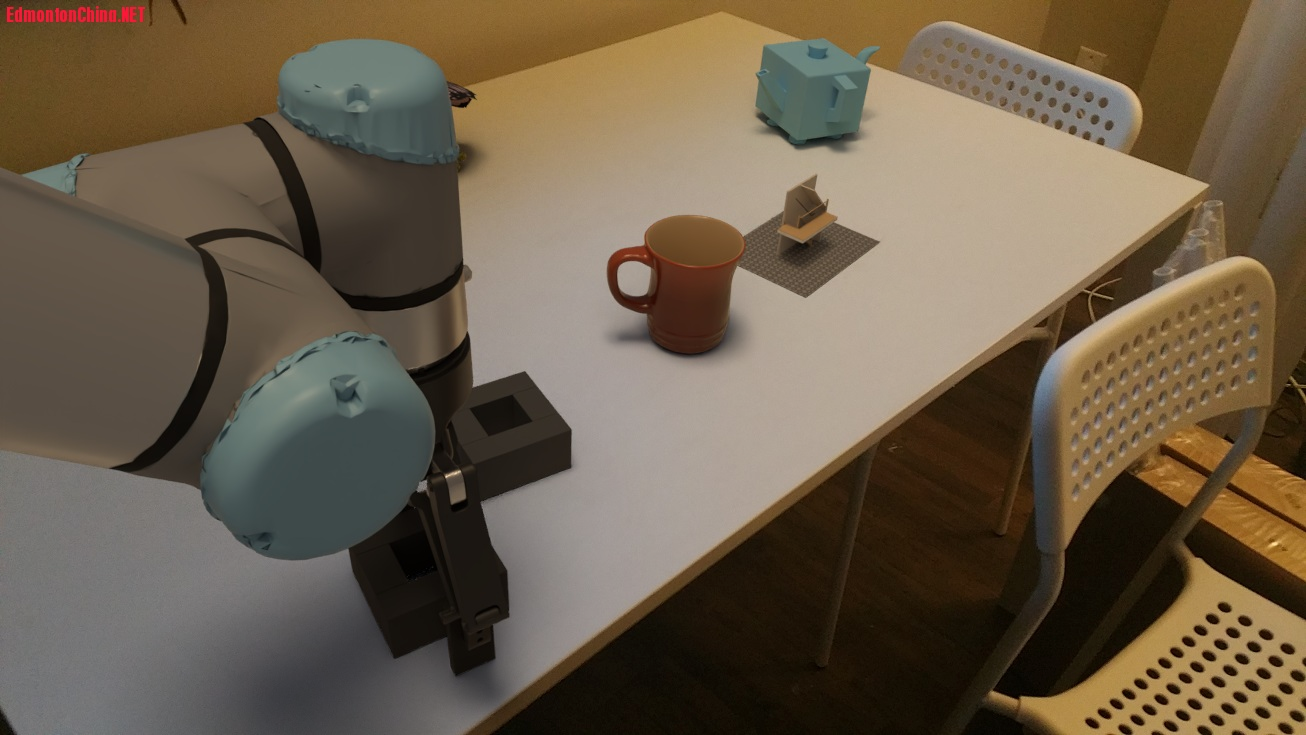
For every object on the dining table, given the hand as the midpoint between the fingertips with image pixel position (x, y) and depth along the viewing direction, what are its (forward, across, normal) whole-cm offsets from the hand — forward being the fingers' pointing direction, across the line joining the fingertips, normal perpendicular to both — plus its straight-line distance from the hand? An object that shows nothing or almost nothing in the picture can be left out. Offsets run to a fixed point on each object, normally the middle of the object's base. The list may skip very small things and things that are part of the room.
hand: (432, 588), depth 67 cm
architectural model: (+1, +24, -51) cm, 56 cm away
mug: (+1, +17, -30) cm, 34 cm away
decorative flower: (0, +58, -22) cm, 62 cm away
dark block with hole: (0, 0, 0) cm, 0 cm away
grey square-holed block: (0, +10, -10) cm, 14 cm away
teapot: (+1, +47, -71) cm, 85 cm away
